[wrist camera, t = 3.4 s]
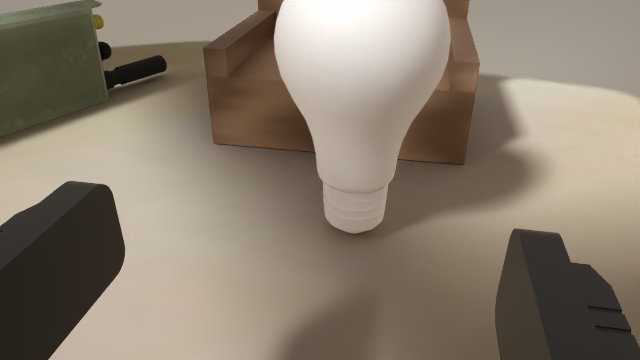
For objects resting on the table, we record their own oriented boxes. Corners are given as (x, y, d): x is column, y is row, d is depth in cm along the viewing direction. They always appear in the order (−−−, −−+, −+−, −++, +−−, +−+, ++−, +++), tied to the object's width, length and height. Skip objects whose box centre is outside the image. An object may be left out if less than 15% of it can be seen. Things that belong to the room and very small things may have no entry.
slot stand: (213, 143, 29) (197, -3, 25) (267, 81, 39) (261, -31, 35) (463, 164, 27) (488, 8, 23) (454, 93, 37) (471, -25, 33)
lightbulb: (451, 262, 20) (501, -44, 14) (297, 287, 19) (289, -39, 13) (394, 186, 25) (415, -61, 20) (271, 201, 24) (257, -58, 18)
